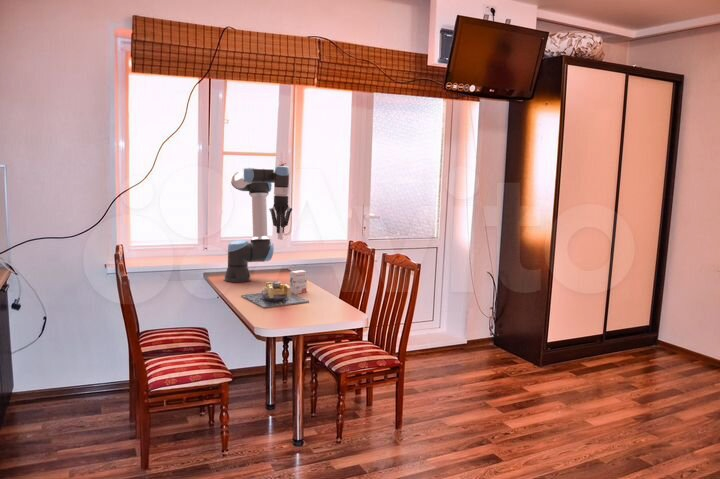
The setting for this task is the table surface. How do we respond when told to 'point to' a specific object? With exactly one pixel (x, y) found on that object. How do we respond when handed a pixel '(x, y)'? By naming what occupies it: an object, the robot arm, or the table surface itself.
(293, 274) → the ink box
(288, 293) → the octagonal ring stand
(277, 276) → the table surface
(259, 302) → the cap plate
